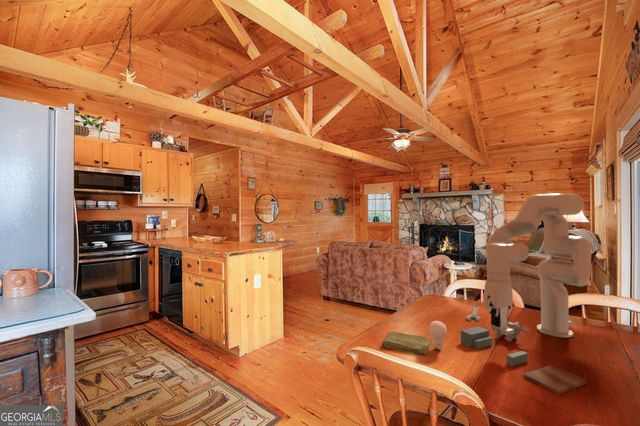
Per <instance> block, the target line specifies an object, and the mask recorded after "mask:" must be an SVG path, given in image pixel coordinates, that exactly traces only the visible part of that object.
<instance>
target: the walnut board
mask: <svg viewBox="0 0 640 426" xmlns="http://www.w3.org/2000/svg"><path fill="white" fill-rule="evenodd" d="M523 377H524V378H525V379H527V380H528V381H531V382H533V383H534V384H537V385H538V386H541V387H542V388H545V389H546V390H549V391H550V392H552V393H554V394H556V395H561V394H564V393H566V392H568V391H571V390H574V389H576V388H579V387H582V386H584V385H586V383H587V382H588V381H587V380H586V379H584V378H582V377H580V376H578V375H575V374H574V373H571V372H569V371H566V370H564V369H562V368H559V367H557V366H555V365H553V364H550V365H548V366H545V367H541V368H538V369H535V370H532V371H529V372H525V373H524V374H523Z"/></svg>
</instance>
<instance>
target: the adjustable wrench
mask: <svg viewBox="0 0 640 426" xmlns="http://www.w3.org/2000/svg"><path fill="white" fill-rule="evenodd" d="M479 309H480V306H479V305H478V304H473V306H472V312H471V313H469V314H468V315H466V316H465V319H466V321H468V322H472V320H475V321H476V322H481V320H482V316H479V315H478V312H479Z"/></svg>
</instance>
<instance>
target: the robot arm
mask: <svg viewBox="0 0 640 426" xmlns="http://www.w3.org/2000/svg"><path fill="white" fill-rule="evenodd" d="M584 205H585V204H584V200H583V198H582V197H581V196H580V194H577V193H541V194H540V193H539V194H538V193H537V194H532V195H529V196H528V197H527V198H526V199H525V201H524V203H523V204H522V206H521V208H520V209H519V210H518V212H517V214H516V216H515V217H514V218H513V219H512V220H510V221H508V222H506V223H505V224H503V225H501V226H499V227H498V228H497V229H496V230H495V231H493V233H492V234H491V236H490V237H489V239H488V241H487V243H486V246H485V252H486V277H487V278H486V280H485V282H484V283H485V284H484V291H483V292H484V293H483V305H484V306H485V307H484V310H486V311H487V312H488V313H489V315H490V324H491V326H492V325H494V326H496V327H500V317H499V316H498V315H499V308H501V307H506V306H507V325H508V322H509V313H510V310H511V307H512V306H513V305H514V301H513V297H514V296H513V287H512V286H513V285H512V281H511V262H514V263H515V262H519V263H520V262H523V261H525V260H526V259H527V258H528V257H529V255H530V250H529V247H528V246H527V244H525V243H523V242H521V241H513V240H511V239H514V238H517V237H520V236H526V235H529V234H531V233H535V232H536V231H537V230H538V229H539V227H540V225H541V223H542V221H543V227H544V228H543V252H544V253H545V254H546V255H547V256H550V257H557V258H564V259H572V260H573V261H567V260H560V259H553V258H552V259H550V258H548V259H543V260H541V261H540V262H539V263H538V265H537V272H538V276H539V277H538V278H539V282H540V284H539V285H540V324H537V325H536V330H537V331H539V333H542V334H544V335H547V336H551V337H555V338H563V339H565V338H567V339H568V338H572V337H573V336H574V332H573V331H572V330H571V329H569V327H571V326H573V325H574V323H573V321H571V320H569V291H568V290H567V288H566V287H565V285H570V286H576V287H585V286H587V285H588V284H589V282H590V279H591V269H592V268H591V267H592V266H591V265H592V246H591V242H590V241H589V240H588V238H586V237H584V236H578V235H570V234H569V233H570V232H569V231H570V225H569V222H568V220H567V219H566V218H565V216H574V215H575V216H576V215H578V214H579V213H581V212H582V211H583V209H584ZM493 309H495V311H494V310H493Z"/></svg>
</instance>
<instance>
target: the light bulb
mask: <svg viewBox="0 0 640 426" xmlns="http://www.w3.org/2000/svg"><path fill="white" fill-rule="evenodd" d="M447 329H448V328H447V326H446V324H444V322H443V321H440V320H434V321H431V322H430V324H428V332H429V334H430V336H431V337H432V341H433V347H434V349H436V350H442V349H443V343H444V341H443V340H444V339H445V337H446V336H447V334H448V330H447Z"/></svg>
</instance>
